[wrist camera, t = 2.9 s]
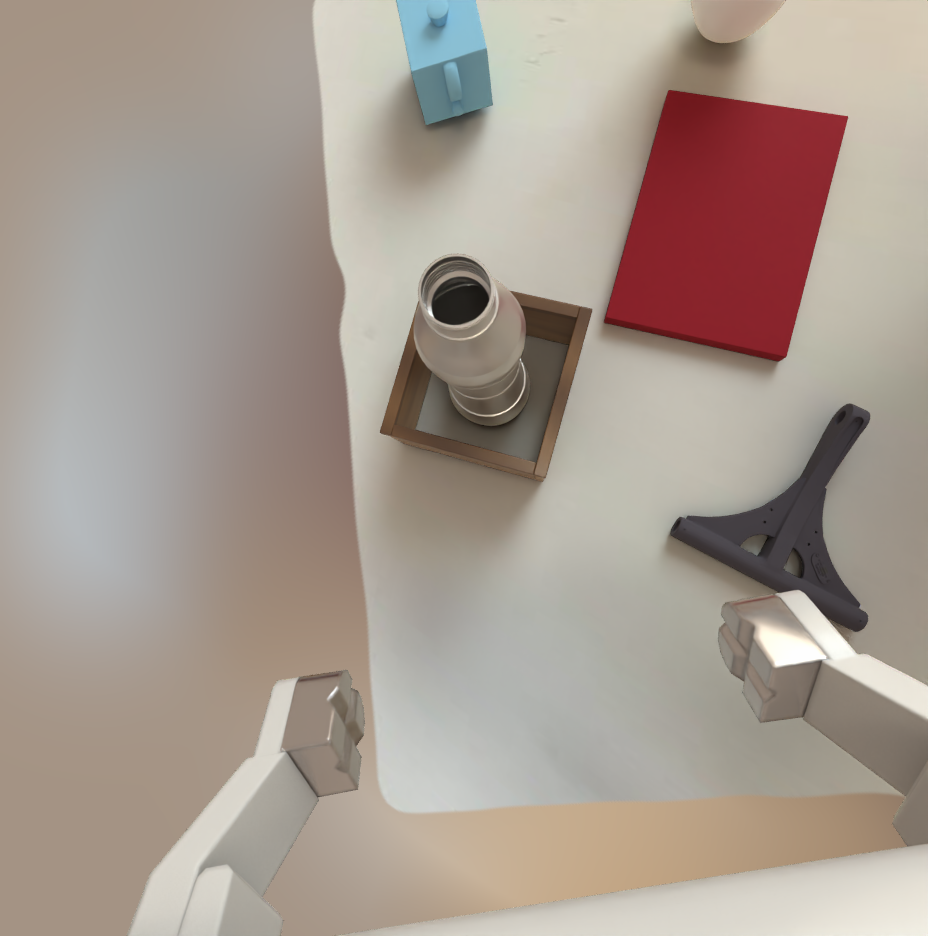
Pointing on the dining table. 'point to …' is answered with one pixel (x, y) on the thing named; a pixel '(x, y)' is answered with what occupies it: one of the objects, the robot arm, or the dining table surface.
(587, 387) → the dining table surface
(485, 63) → the teapot
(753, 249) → the cushion mat
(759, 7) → the white air blower bulb
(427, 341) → the metal bottle
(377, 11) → the dining table surface
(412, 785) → the dining table surface
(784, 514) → the squeegee
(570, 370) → the wooden box
